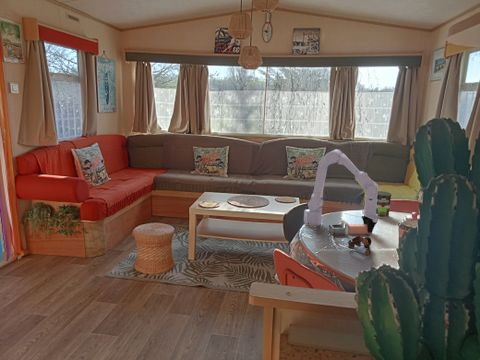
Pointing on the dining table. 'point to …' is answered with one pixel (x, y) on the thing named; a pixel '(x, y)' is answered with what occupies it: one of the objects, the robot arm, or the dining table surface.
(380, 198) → the coffee can
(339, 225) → the dispenser
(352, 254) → the dining table surface
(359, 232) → the copper rectangular block
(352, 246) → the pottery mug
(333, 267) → the dining table surface
